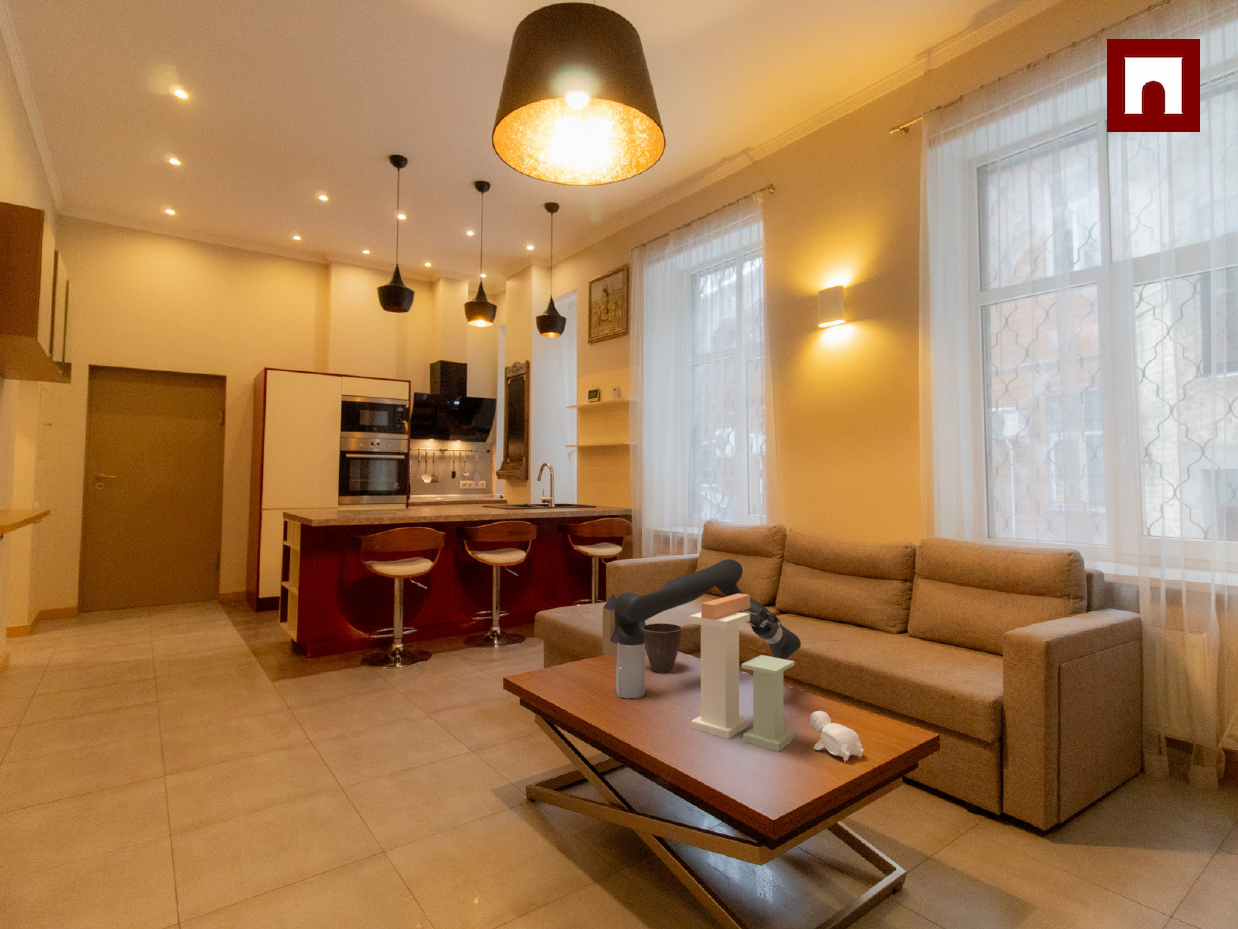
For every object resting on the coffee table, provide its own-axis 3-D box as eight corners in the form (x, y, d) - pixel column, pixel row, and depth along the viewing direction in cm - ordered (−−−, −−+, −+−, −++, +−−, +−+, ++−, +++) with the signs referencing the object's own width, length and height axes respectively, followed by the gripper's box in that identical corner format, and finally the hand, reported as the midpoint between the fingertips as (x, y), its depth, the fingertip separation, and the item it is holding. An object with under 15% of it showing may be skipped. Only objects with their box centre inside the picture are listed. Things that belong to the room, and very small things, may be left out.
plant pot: (641, 676, 223) (642, 631, 223) (641, 664, 238) (642, 622, 238) (682, 676, 222) (682, 632, 223) (680, 665, 237) (680, 623, 238)
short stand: (761, 729, 173) (761, 655, 174) (795, 738, 167) (794, 661, 168) (741, 743, 164) (741, 664, 165) (776, 753, 158) (776, 671, 159)
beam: (738, 606, 189) (738, 593, 189) (750, 608, 187) (749, 594, 187) (701, 617, 172) (701, 603, 172) (713, 619, 170) (713, 605, 170)
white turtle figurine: (861, 767, 157) (820, 727, 169) (870, 741, 154) (828, 701, 167) (836, 774, 153) (797, 732, 165) (846, 747, 150) (805, 706, 163)
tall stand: (714, 715, 184) (713, 608, 185) (750, 725, 177) (749, 613, 178) (689, 729, 173) (689, 615, 175) (726, 740, 166) (726, 621, 167)
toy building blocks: (602, 653, 254) (602, 592, 255) (640, 647, 263) (640, 589, 264) (617, 660, 243) (618, 597, 244) (656, 654, 252) (656, 593, 253)
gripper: (750, 615, 206) (730, 596, 196) (790, 620, 197) (771, 601, 187) (744, 636, 203) (724, 618, 193) (785, 643, 194) (766, 624, 184)
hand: (747, 610), depth 190 cm, fingers open, 8 cm apart
